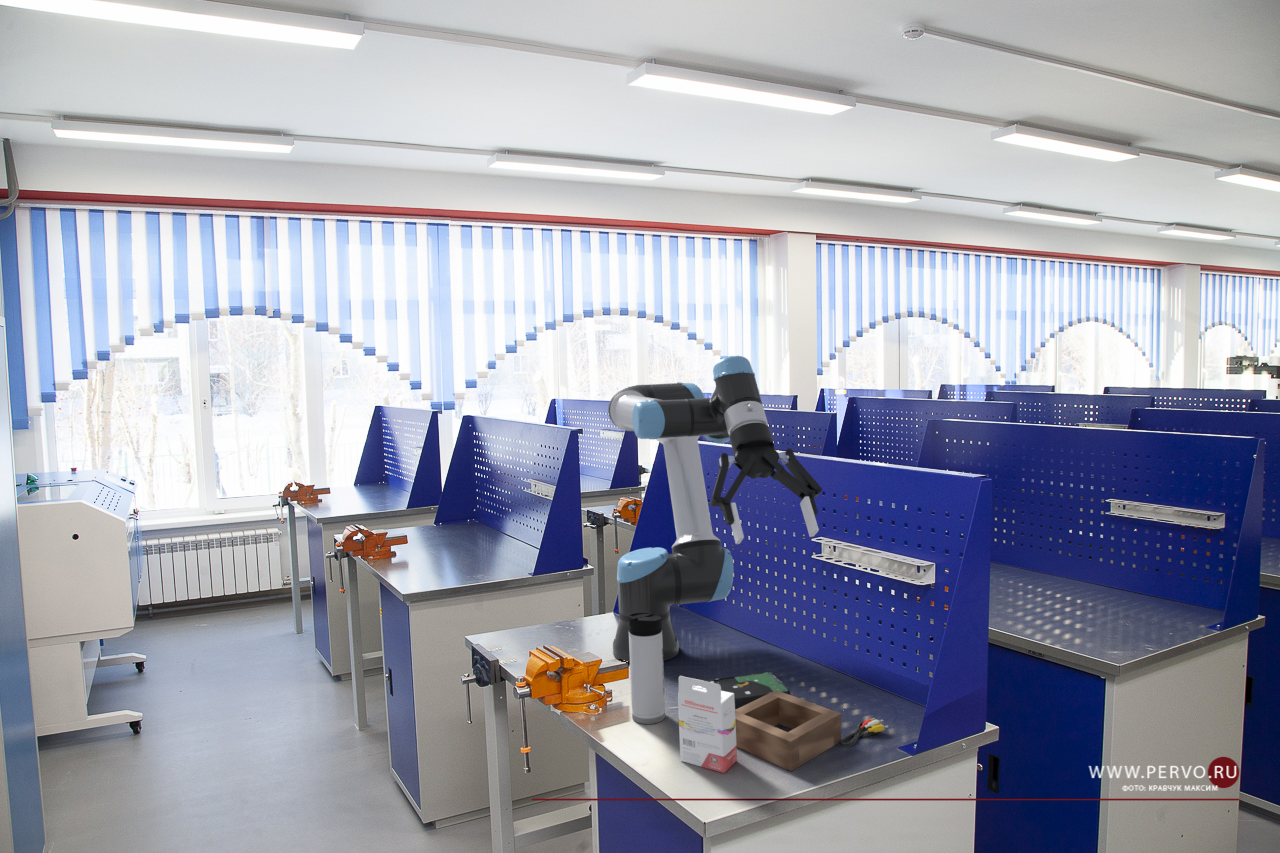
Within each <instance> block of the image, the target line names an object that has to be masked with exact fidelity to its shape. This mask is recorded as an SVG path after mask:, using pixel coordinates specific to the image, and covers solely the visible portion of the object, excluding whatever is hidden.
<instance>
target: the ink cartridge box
mask: <svg viewBox="0 0 1280 853" xmlns="http://www.w3.org/2000/svg"><path fill="white" fill-rule="evenodd" d="M677 706H678V707H677V708H678V710H677V711H678V729H679V730H678V731H679V732H678V734H679V758H680V762H682V763H683V762H684V763H687V764H691V765H693V766H698V767H701V768H704V769H708V770H711V771H715V772H718V773H722V774H725V773H726V772H727V771H728V770H730V768H732V766H733V765H734V764H735V763H737V762H738V752H737V751H738V750H737V748H738V747H737V746H736V721H735V710H736V709H735V700H734V693H730V692H725V691H721V686H720V685H719V684H715V683H711V682H707V681H704V680H703V679H698V678H697V679H696V678H693V677H686V676H683V675H679V676H678V693H677Z"/></svg>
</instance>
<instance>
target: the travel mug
mask: <svg viewBox="0 0 1280 853" xmlns="http://www.w3.org/2000/svg"><path fill="white" fill-rule="evenodd" d="M628 621H629V651H630V663H629V667H630V668H629V669H630V670H629V671H630V672H629V675H630V694H631V695H630V696H631V697H630V698H631V718H632V720H633V721H635V722H636V723H638V724H642V725H653V724H657V723H660V722H661V721H663V720H664V719H665V718H666V698H665V670H664V661H663V640H662V626H661V625H662V621H661V617H660V616H656V615H653V614H651V613H632V614H630V615H629V616H628Z"/></svg>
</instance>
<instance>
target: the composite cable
mask: <svg viewBox="0 0 1280 853" xmlns="http://www.w3.org/2000/svg"><path fill="white" fill-rule="evenodd" d="M882 723H884V719H876V718H875V717H872V718H867V719H866V720H865V721H860V722H859V723H858V724H857V728H856V730H855V731H853V732H852V733H850V734H847V735H846V736H844V737H841V742H840V744H841V745H842V746H844V747H845V748H847V747H848V748H849V747H852V746H854V745H855V744H856V743H857V740H858V739H859V738H864V737H865V738H866V737H870V736H872V735H876V734H877V733H880V732H884V731H885V729H888V728H889V725H884V724H882ZM849 740H850V741H849Z"/></svg>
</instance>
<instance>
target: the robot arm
mask: <svg viewBox="0 0 1280 853" xmlns="http://www.w3.org/2000/svg"><path fill="white" fill-rule="evenodd" d="M712 372H713V373H712V374H713V382H714V383H715V389H714V391H713V393H712V395H711V397H705V395H704V393H703V391H702V389H701V388H700V387H699V386H698V384H696V383H693V382H692V383H691V382H676V383H675V382H674V383H671V382H670V383H657V384H656V383H654V384H652V383H651V384H636V385H632V386H628V387H625V388H623V389H622V390H620V391H618V392H616V393H615V394H614V395H613V396H612V397H611V400H610V401H609V403H608V409H607V410H608V411H607V412H608V417H609V419H610V421H611V423H612V424H613V425H614V426H615V427H617V428H618V429H620V430H623V431H625V432H634V434H635V436H636V438H638V439H641V440H656V441H657V442H659V443H660V444H662V445H663V452H664V459H665V466H666V471H667V479H668V485H669V486H668V487H669V494H670V500H671V507H672V514H673V521H674V528H675V535H676V539H675V542H674V543H673V544H672V546H671V553H669V552H668V550H667V549H666V548H663V547H658V546H657V547H645V548H644V547H643V548H639V549H635V550H633V551H630V552H626V553H625V554H624V555H622V556H621V557H620V558H619V559H618V561H617V573H616V581H617V596H618V618H619V620H618V624H617V628H616V633H615V637H614V639H613V641H612V654H613V656H614V657H615V658H616V659H617V660H619V659H622V660H625V661H628V662H629V664H630V651H629V621H628V616H629V615H630V614H632V613H651V614H653V615H656V616H660V617H661V621H662V625H661V626H662V640H663V662H667V661H669V660H671V659H673V658H675V657H676V656H677V655H678V654H679V651H680V650H679V648H680V646H679V640H678V637H677V634H676V631H675V628H674V626H673V623H672V621H671V613H670V608H671V606H677V605H684V604H685V605H686V604H694V603H695V604H696V603H706V602H707V603H710V602H713V601H719V600H723V599H726V597H728V595H730V592H731V589H732V587H733V581H734V560H733V559H734V558H733V556H732V553H731V551H730V550H729V549H728V548H725V547H722V542H721V539H720V538H718V537H717V536H716V535H715V534H714V532H713V528H712V522H711V514H710V508H709V505H710V506H711V507H719V508H718V509H719V510H720V511H721V512H722V515H723V518H724V523H725V524H726V525H727V526H729V525H730V527H731V531H732V535H733V539H734V542H735V545H740V544H741V543H742V541H743V540H744V539H745V535H744V531H743V528H742V524H741V520H740V516H739V512H738V507H737V504H736V502H732V500H733V498H734V497H735V495H736V493H737V492H738V490H739V488H740V487H741V485H742V483H743V482H744V480H745V479H746V478H747V477H748V478H750V479H751V480H753V479H757V478H763V479H764V478H765V479H767V478H768V477H770V478H772V480H776V481H778V482H780V484H781V485H783V486H784V487H786V489H788V490H789V491H791V493H793V494H794V495H795V496H797V497H799V499H800V500H801V501H800V503H799V505H800V510H801V511H802V515H803V519H804V522H805V525H806V528H807V532H808V537H810V538H813V537H815V535H817V533H818V532H819V530H820V528H819V526H818V523H817V522H818V521H817V519H816V516H817V515H818V511H819V510H818V507H817V504H816V501H815V499H816V498H818V496H819V495H820V494H821V492H823V488H822V487H821V486H820V485H819V484H820V483H818V482H817V481H816V480H815V478H814V477H812V475H811V474H810V473H809V472H808V470H807V469H806V468H805V467H804V466H803V465H802V464H801V462H799V460H798V459H797V458H796V455H795V453H794V450H793V449H792V448H789V447H788V448H787V449H786V451H781V452H778V451H777V450H776V448H775V445H774V440H773V436H772V432H771V428H770V427H769V422H768V418H767V416H766V412H765V408H764V405H763V401H762V398H761V394H760V390H759V388H758V384H757V380H756V374H755V372H754V371H753V368H752V364H751V362H750V360H749V359H748V358H746V357H745V356H743V355H731V356H730V355H729V356H726V357H724V358H722V359H720V360H718V361H717V362H716V363H715V365H714V366H713V370H712ZM702 436H703V438H704V439H706V440H707V441H709V442H712V443H715V444H719V445H720V444H725V443H728V442H730V445H731V450H732V454H733V455H728V453H726V452H722V454H721V455H720V458H719V459H718V461H717V463H718V464H717V465H718V474H717V476H716V481H715V483H714V487H713V491H712V494H711V498H710V501H709V503H708V497H707V496H708V495H707V490H706V484H705V478H704V472H703V466H702V465H703V464H702V459H701V453H700V452H701V451H700V445H699V439H700V437H702ZM779 461H781V463H780V462H779ZM732 464H733V465H734V466H735V467H736V468H737V469H738V470H740V471H739V473H738V475H737V477H736V478H735V479H734V480H733V481H734V482H733V483H732V485H731V486H730V488H729V489H728V492H727V493H726V494H725V496H724V497H723V496H722V492H723V488H724V485H725V482H726V478H727V474H728V472H729V471H728V470H729V469H730V468H731V467H732ZM783 465H785V466H786V468H787V469H788V471H787V470H786V469H785V466H783ZM628 662H627V663H628Z"/></svg>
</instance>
